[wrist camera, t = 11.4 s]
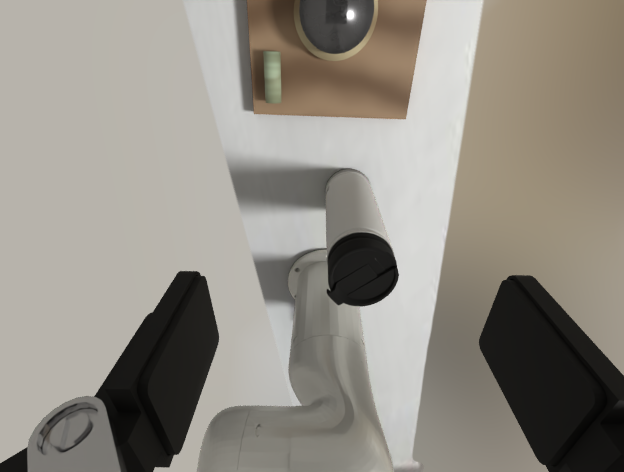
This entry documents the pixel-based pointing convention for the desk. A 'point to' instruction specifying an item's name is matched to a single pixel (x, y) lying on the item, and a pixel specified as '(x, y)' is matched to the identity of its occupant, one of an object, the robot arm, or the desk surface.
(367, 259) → the travel mug
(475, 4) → the desk surface
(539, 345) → the robot arm
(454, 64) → the desk surface
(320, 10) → the grey rounded piece
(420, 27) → the base
